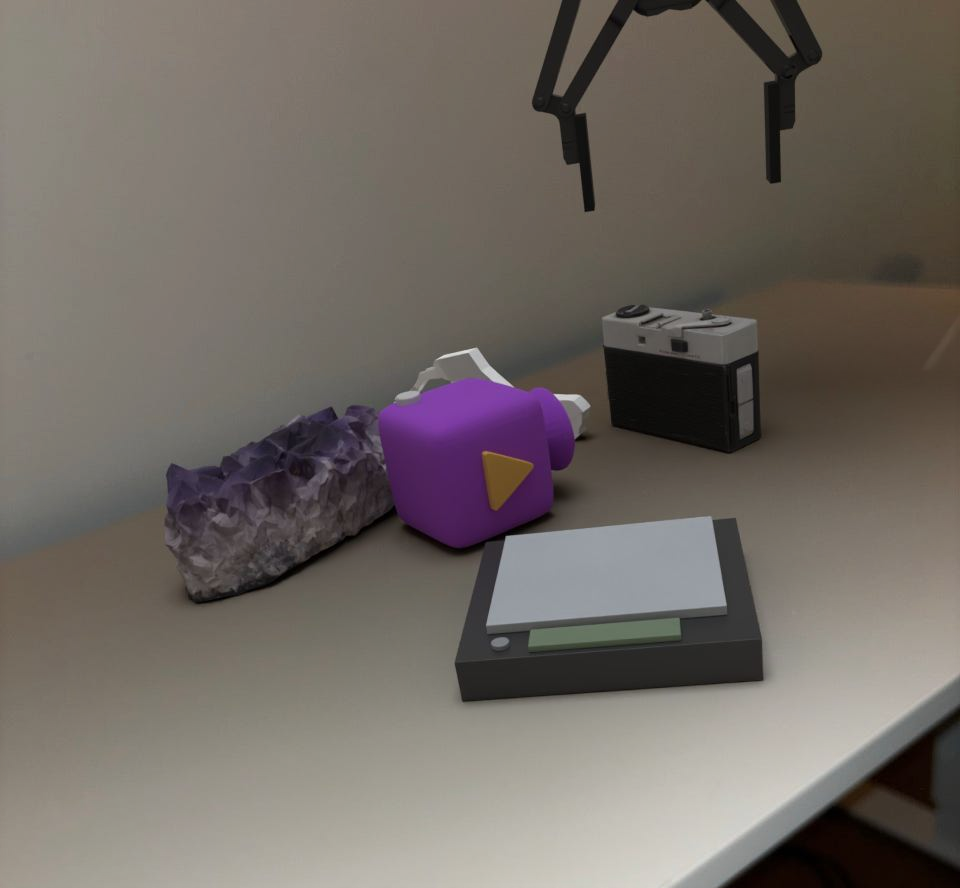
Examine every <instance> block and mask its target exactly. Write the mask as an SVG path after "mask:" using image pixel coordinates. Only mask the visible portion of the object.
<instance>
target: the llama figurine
mask: <svg viewBox="0 0 960 888" xmlns="http://www.w3.org/2000/svg"><path fill="white" fill-rule="evenodd" d="M468 378H479V379H484V380H489V381H493V382H496V383H500V384H504V385H507V386H511V387H514V385H512V384H511V383H510V382H509V381H508V380H507V379H506V378H504V377H503V376H502V375H501V374H500V373H499V372H497V371H496V369H494V368H493V367H492V366H491V365H490V363H488V361H487V360H486V358H485V356H484V355H483V354H482V353H481V351H480V350H479V348H478V347H474V348H469V349H465V350H459V351H456V352H451V353H446V354H443V355H441V356H440V357H438V358H436V359H434V361H433V364H432V366H431V367H427V368H425V370H424V371H420V372H419V373H418V376H417V379H416V381H415V384H413V386H412V387H411V389H410V390H409V391H418V392H419V393H420V394H421V393H422V391H423V390H424V388H425V386H426V385H427V384H428V382H429V381H430V380H437V379H443V380H445V381H449V382H450V384H451V383H454V382H457V381H460V380H463V379H468ZM553 394H554V395H555V396H556V398H557V399H558V400H559V401H560V402H561V404H562V405H563V407H564V409H565V411H566V412H567V414H568V417H569V419H570V422H571V425H572V428H573V432H574V439H575V440H576V439H577V438H578V437H579V436H581V434H583V433H584V432H586V431H587V430H588V428H587V423H588V422H589V419H590V417H591V415H590V414H591V412H590V411H591V410H590V408H591V405H590V403H589V402H588V401H587V400H586V399H585V398H584V397H583V396H582V395H581V394H575V393H574V394H561V393H553ZM394 400H395V401H394V402H393V404H394V403H396V397H395V398H394Z"/></svg>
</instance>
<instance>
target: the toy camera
mask: <svg viewBox="0 0 960 888" xmlns="http://www.w3.org/2000/svg"><path fill="white" fill-rule="evenodd" d="M554 394H555V393H553V392H551V391H550V390H549V389H547V388H545V387H534V388H532V389H531V390H529V391H526V390H525V389H524V390H523V389H521V388H518V387H515V386H513V387H511V386H507V385H504V384H500V383H496V382H493V381H489V380H484V379H479V378H468V379H463V380H460V381H457V382H454V383H451V382H450V383H448V384H445V385H442V386H439V387H436V388H433V389H430V390H428V391H424V392H420V393H419V392H418V391H410V390H409V391H404V392H401V393H399V394H397V395H396V396H395V398H396V400H395V402H396V403H394V402H393V403H392V404H389V405H388V406H386V407H384V408H383V409H381V411H380V412H379V417H378V428H379V434H380V440H381V445H382V449H383V454H384V459H385V463H386V468H387V473H388V477H389V482H390V487H391V491H392V496H393V500H394V504H395V505H394V507H395V511H396V512H397V513H396V514H397V515H398V516H399V518H400V520H401V521H402V522H404V524H406V525H408V526H410V527H411V528H413V529H415V530H417V531H419V532H421V533H423V534H424V535H427V536H428V537H430V538H432V539H434V540H436V541H438V542H440V543H441V544H444V545H446V546H448V547H450V548H455V549H464V548H468V547H472V546H475V545H477V544H480V543H482V542H484V541H486V540H489V539H492V538H495V537H496V536H499V535H501V534H503V533H506V532H508V531H510V530H513V529H516V528H518V527H520V526H523V525H524V524H527V523H529V522H532V521H534V520H536V519H538V518H540V517H542V516H544V515H545V514H547V513H548V512H549V511H550V510H551V509H552V508H553V505H554V495H555V494H554V482H553V481H554V480H553V474H552V471H555V472H560V471H563V470H565V469H566V468H568V467H569V465H570V464H572V463H571V462H572V461H573V458H574V454H575V450H576V449H575V448H576V438H575V439H574V432H573V428H572V425H571V422H570V419H569V417H568V414H567V412H566V411H565V409H564V407H563V405H562V404H561V402H560V401H559V400H558V399H557V398H556V396H555V395H554Z"/></svg>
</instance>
